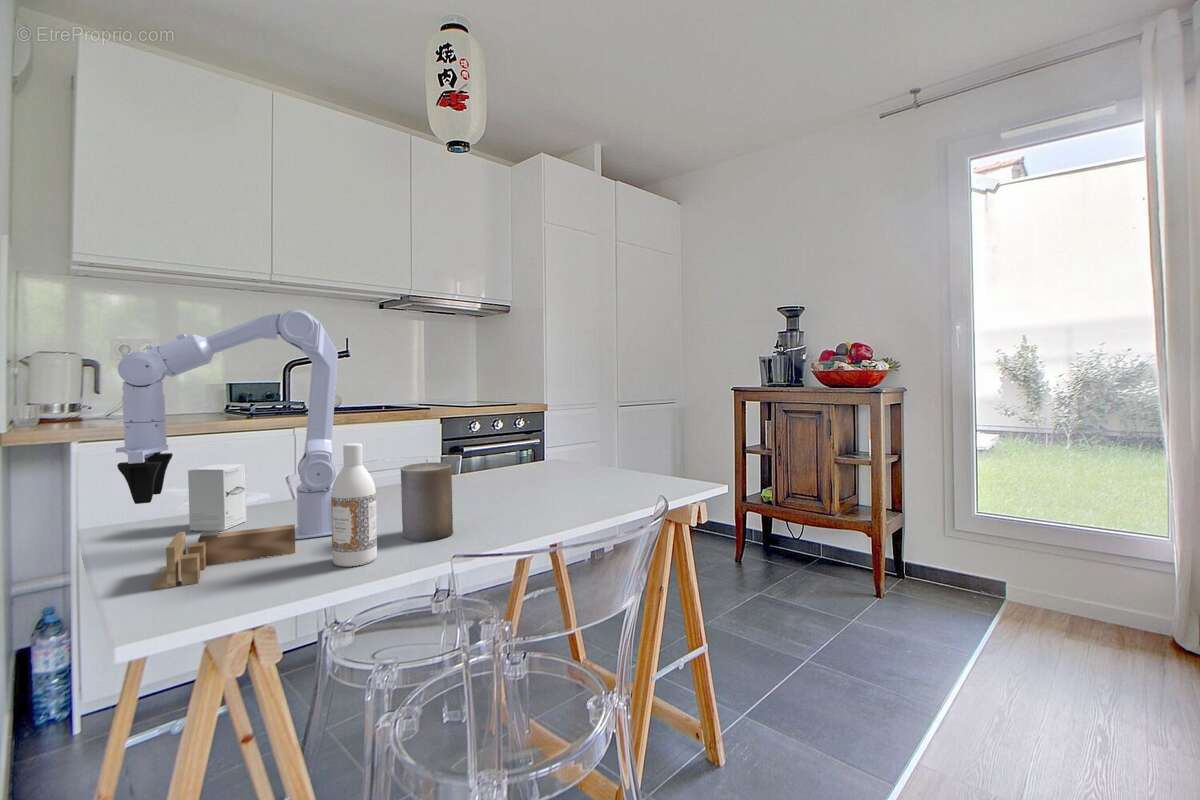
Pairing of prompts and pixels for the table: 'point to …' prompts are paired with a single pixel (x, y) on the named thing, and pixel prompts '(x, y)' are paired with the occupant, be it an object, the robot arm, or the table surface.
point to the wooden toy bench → (181, 563)
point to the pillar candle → (426, 501)
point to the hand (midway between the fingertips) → (148, 498)
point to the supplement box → (217, 497)
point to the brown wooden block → (248, 543)
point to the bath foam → (353, 512)
